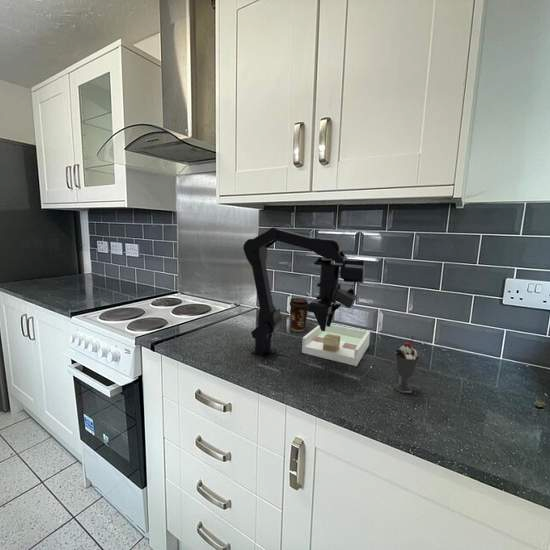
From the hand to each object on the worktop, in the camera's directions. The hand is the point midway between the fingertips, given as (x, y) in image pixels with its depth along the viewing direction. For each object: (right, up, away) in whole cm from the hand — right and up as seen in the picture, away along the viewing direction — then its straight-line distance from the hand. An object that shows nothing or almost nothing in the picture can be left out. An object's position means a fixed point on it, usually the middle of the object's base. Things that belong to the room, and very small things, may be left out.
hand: (325, 328), depth 94 cm
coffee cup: (-6, -7, +35) cm, 36 cm away
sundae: (+20, -15, -11) cm, 27 cm away
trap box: (+6, -10, +14) cm, 19 cm away
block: (+3, -8, +8) cm, 12 cm away
